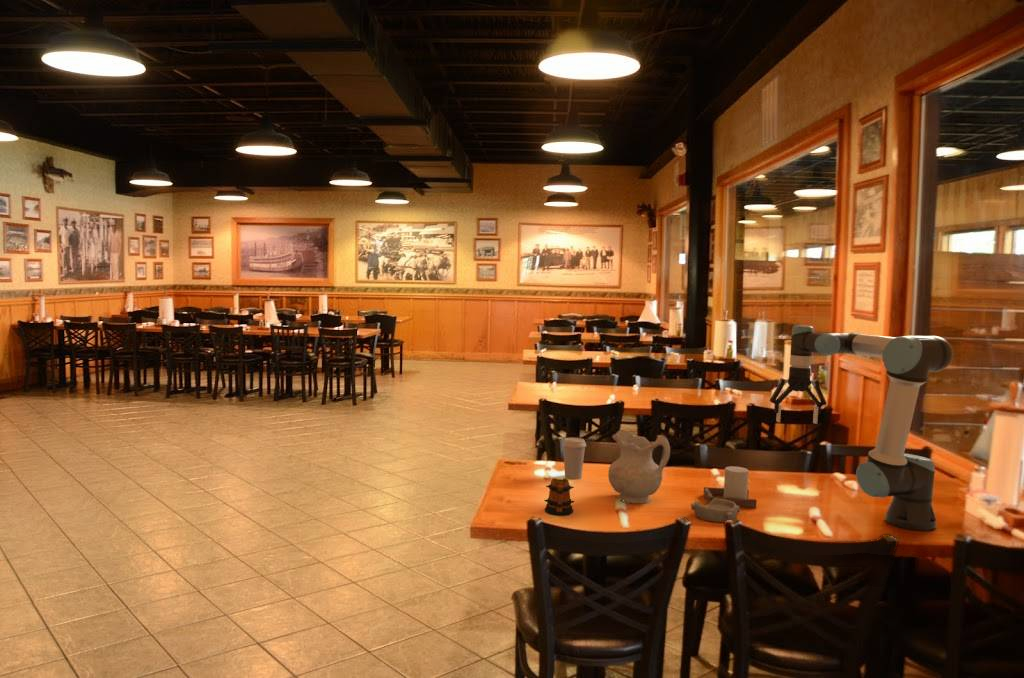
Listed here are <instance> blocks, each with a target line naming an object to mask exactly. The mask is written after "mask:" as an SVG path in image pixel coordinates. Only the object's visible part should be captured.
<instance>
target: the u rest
mask: <svg viewBox="0 0 1024 678" xmlns="http://www.w3.org/2000/svg"><path fill="white" fill-rule="evenodd" d="M749 492H750V491H749V489H748V490H747V499H745V498H724V487H710V486H709V487H707V486H703V493H702V495H703V496H704V498H705V500H706V502H707V503H708V504H709V503H710V502H711V501H712V500H713V498H718V499H725V500H730V501H732V502H734V503H735V504H736V506H739V507H740V509H757V502H758V501H757V499H756V498H749ZM708 504H707V505H708Z"/></svg>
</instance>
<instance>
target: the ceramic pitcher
mask: <svg viewBox="0 0 1024 678" xmlns="http://www.w3.org/2000/svg"><path fill="white" fill-rule="evenodd" d="M612 439H613V440H614V441H615V442H616V443H617V444H618V446H619V449H620V453H619V454H620V455H619V457H618V458H617V459H616V460H615V461H613V462H612V463H611V464H610V465H609V467H608V480H609V481H608V482H609V483H610V485H611V487H612V488H613V490H614V491H615V492H617V493H619V495H618V499H619V500H620V499H622V500H624V501H625V503H627V504H631V505H632V504H649V503H650V502H651V501H652V499H651V498H650V496H652V495H654V494H655V493H656V492H657V491H658V489H659V488H660V486H661V485H662V481H663V470H664V468H665V467H666V466H667V464H668V462H669V460H670V456H671V445H670V443H669V440H668V437H667V436H666V435H664V434H658V435H656V439H655V441H649V440H648V439H647V438H646V437H645V436H637V435H636V436H635V435H633V433H632V432H631V431H627V430H626V429H620V430H617V432H616V433H614V434H612ZM659 446H662V447H663V450H664V452H663V453H664V454H663V456H662V458H661V460H660V462H659V465H658V464H657V463H656V462H655V461H654V459H653V451H654V449H656V448H657V447H659ZM624 501H623V502H624Z"/></svg>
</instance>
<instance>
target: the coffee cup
mask: <svg viewBox="0 0 1024 678" xmlns="http://www.w3.org/2000/svg"><path fill="white" fill-rule="evenodd" d="M561 445H562V446H563V464H564V465H563V467H564V478H565V479H567V480H580V479H582V474H583V466H584V459H585V458H584V457H585V451H586V450H585V449H586V447H587V443H586V441H585V439H584V438H582V437H565V438H564V440H563V441H562V444H561Z"/></svg>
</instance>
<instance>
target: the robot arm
mask: <svg viewBox="0 0 1024 678" xmlns="http://www.w3.org/2000/svg"><path fill="white" fill-rule="evenodd" d="M790 337H791V339H790V354H789V355H790V356H789V357H790V358H789V370H788V378H786V379H784V378H781V377H780V379H779V383H778V385H777V387H776V389H775V390H774V391H773V393H772V395H771V397H770V398H769V402H770V403H772V404H774V408H773V409H774V410H773V411H774V413H775V414H776V417H775V419H776V422H777V423H781V417H782V416H781V414H782V413H781V412H782V404H781V403H782V402H783V401H784V400H785V399H786V397H788V396H789V395H790V394H791V393H792V392H793V391H794V392H802V393H803V392H806V394H807V395H808V396H809V397H810V398H811V400H812V401H813V402H814V404H815V405H814V406H813V415H812V416H813V418H812V423H813V424H815V425H817V424H818V421H819V419H818V418H819V417H818V416H820V415H821V412H822V410H821V409H822V407H823V406H826V405H827V401H826V399H825V396H824V395H823V392H822V389H821V388H820V381H819V380H818V379H813V380H811V366H812V355H813V353H814V354H819V355H823V356H833V355H835V354H839V355H840V354H848V355H858V356H866V357H871V358H872V357H873V358H881V360H882V362H883V367H884V368H885V370H886V376H887V377H888V378H889V385H888V390H887V394H886V399H885V403H884V407H883V412H882V416H881V420H880V425H879V429H878V434H877V437H876V442H875V447H874V448H873V449H871V450H870V451H868V455H867V459H866V461H863V462H861V463H860V464H859V465H858V466H857V468H856V471H855V472H856V473H855V474H856V482H857V483H858V485H859V487H860V489H861V491H863V493H865V494H866V495H868V496H869V497H871V498H881V499H882V498H886V497H892V499H891V501H890V503H889V506H888V508H887V511H886V512H885V521H886V522H887V523H889V524H890V525H893V526H895V527H899V528H903V529H906V530H907V529H908V530H912V529H915V530H914V531H932V530H931V529H933V530H935V529H936V528H937V519H936V518H937V517H936V514H935V511H934V510H935V509H934V508H933V494H934V493H933V491H934V483H935V482H934V481H935V473H936V471H935V468H936V467H935V466H936V465H935V462H934V461H933V460H932V459H931V458H928V457H925V456H920V455H915V454H909V453H905V451H906V447H907V442H908V439H909V434H910V430H911V425H912V421H913V418H914V414H915V413H914V412H915V408H916V406H917V400H918V396H919V393H920V388H921V386H922V385H924V384H925V383H927V382H928V377H929V374H930V373H937V372H941V371H943V370H945V369H947V368H948V367H949V365H950V364H952V361H953V359H954V348H953V346H952V345H951V343H950V342H949V341H948V340H947V339H945V338H944V337H941V336H937V335H902V336H896V337H894V336H893V337H892V336H883V335H873V334H872V335H871V334H864V333H863V334H862V333H859V332H815V331H814V327H813V326H811V325H807V324H805V325H803V324H802V325H801V324H795V325H793V326H792V329H791V334H790ZM787 384H788V386H787V388H786V389H785V390H784V391H783V392H782V390H783V388H784V386H785V385H787ZM810 385H812V386H813V387H814V389H815V392H816V394H817V396H818V398H819V399H818V398H817V396H815V394H814V393H813V391H812V390H811V389H810V388H809V387H810ZM781 392H782V393H781ZM780 393H781V394H780ZM934 528H935V529H934Z"/></svg>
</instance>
